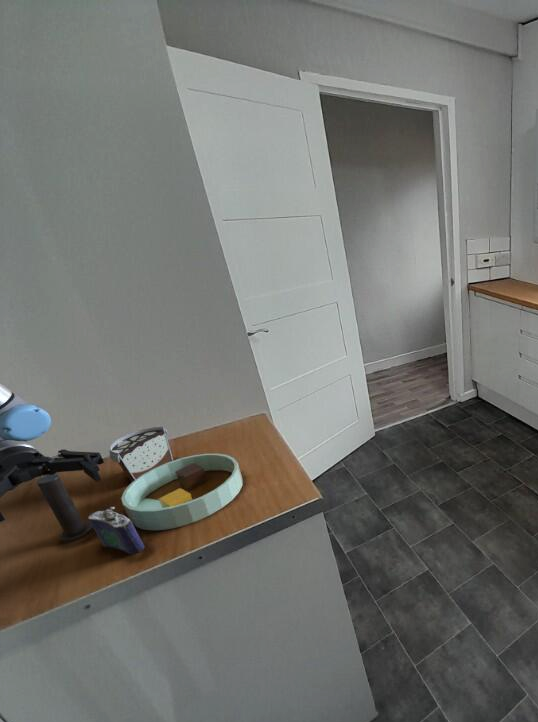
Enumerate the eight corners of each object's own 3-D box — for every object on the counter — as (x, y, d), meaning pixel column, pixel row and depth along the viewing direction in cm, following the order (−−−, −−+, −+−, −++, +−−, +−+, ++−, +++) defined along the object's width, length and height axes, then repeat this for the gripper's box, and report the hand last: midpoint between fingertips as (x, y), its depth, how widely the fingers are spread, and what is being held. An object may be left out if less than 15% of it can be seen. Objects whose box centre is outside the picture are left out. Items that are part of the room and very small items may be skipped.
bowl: (112, 511, 88) (102, 490, 86) (213, 463, 105) (206, 445, 102) (161, 546, 79) (151, 524, 77) (262, 488, 96) (257, 468, 94)
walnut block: (180, 485, 95) (174, 471, 93) (199, 476, 98) (194, 462, 97) (189, 491, 93) (184, 476, 92) (208, 481, 97) (203, 467, 95)
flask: (103, 553, 78) (79, 509, 73) (121, 541, 80) (98, 499, 76) (138, 565, 75) (115, 521, 71) (155, 553, 78) (134, 510, 73)
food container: (158, 456, 106) (143, 423, 102) (179, 459, 106) (165, 425, 101) (109, 487, 95) (91, 452, 91) (132, 490, 94) (115, 454, 90)
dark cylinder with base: (61, 544, 79) (25, 481, 73) (90, 529, 83) (59, 468, 77) (71, 552, 78) (35, 489, 72) (100, 537, 81) (69, 475, 75)
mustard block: (164, 513, 87) (158, 498, 85) (185, 502, 90) (180, 487, 88) (174, 520, 85) (168, 504, 83) (195, 508, 88) (190, 493, 86)
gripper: (96, 449, 100) (136, 476, 91) (-69, 509, 80) (-40, 551, 71) (84, 422, 97) (124, 447, 88) (-91, 477, 77) (-64, 518, 68)
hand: (51, 494), depth 79 cm, fingers open, 13 cm apart
